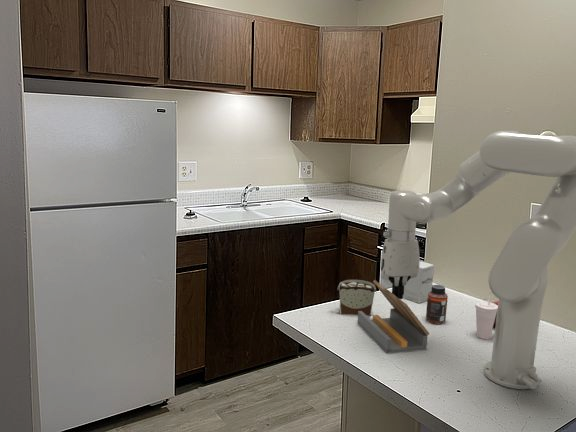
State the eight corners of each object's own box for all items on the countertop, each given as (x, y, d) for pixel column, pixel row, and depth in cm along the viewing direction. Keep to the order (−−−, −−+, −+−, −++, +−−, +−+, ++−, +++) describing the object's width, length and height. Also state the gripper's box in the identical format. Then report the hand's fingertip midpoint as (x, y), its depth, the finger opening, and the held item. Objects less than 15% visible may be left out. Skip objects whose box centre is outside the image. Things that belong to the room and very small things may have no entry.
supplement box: (419, 304, 175) (422, 268, 172) (401, 297, 180) (404, 263, 178) (431, 299, 179) (435, 264, 177) (414, 293, 185) (417, 259, 182)
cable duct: (426, 349, 141) (427, 335, 141) (386, 353, 138) (387, 339, 137) (393, 320, 160) (394, 308, 159) (357, 323, 157) (358, 311, 156)
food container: (373, 309, 169) (375, 280, 167) (375, 316, 163) (377, 286, 161) (336, 307, 170) (337, 278, 168) (336, 314, 164) (337, 284, 162)
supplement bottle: (447, 325, 158) (451, 290, 155) (428, 324, 158) (431, 289, 156) (442, 317, 164) (445, 283, 161) (423, 316, 164) (426, 283, 161)
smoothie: (497, 342, 147) (502, 295, 144) (473, 339, 148) (478, 293, 145) (492, 332, 153) (498, 288, 150) (470, 330, 154) (475, 286, 151)
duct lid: (427, 335, 141) (429, 333, 141) (404, 306, 137) (406, 304, 137) (394, 308, 159) (396, 306, 159) (372, 281, 155) (374, 279, 156)
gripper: (382, 239, 138) (378, 304, 141) (432, 237, 142) (427, 300, 145) (371, 233, 145) (368, 295, 149) (418, 231, 149) (414, 291, 152)
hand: (397, 297), depth 147 cm, fingers closed
